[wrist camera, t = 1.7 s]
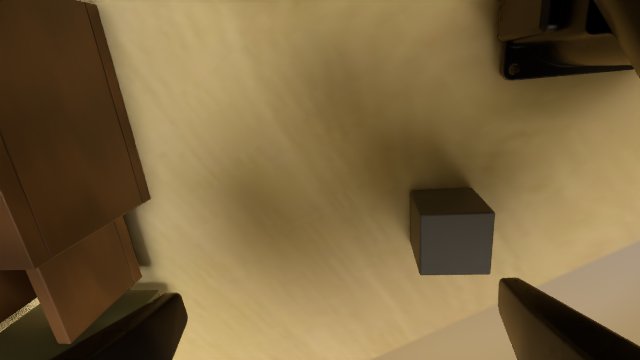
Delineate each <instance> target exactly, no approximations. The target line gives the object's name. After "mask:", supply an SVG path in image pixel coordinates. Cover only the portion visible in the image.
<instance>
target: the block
mask: <svg viewBox="0 0 640 360" xmlns="http://www.w3.org/2000/svg"><path fill="white" fill-rule="evenodd" d="M494 219H495V212H494V211H493V210H492V209H491V208H490V207H489V206H488V205H487V204H486V203H485V201H484V200H483V199H482V198H481V197H480V196H479V195H478V194H477V193H476V192H475V191H474V190H473V189H472V188H455V189H434V190H413V191H410V242H411V246H412V249H413V253H414V256H415V259H416V263H417V266H418V270H419V273H420V275H473V274H490V269H491V256H492V244H493V231H494Z"/></svg>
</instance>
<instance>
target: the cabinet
mask: <svg viewBox="0 0 640 360" xmlns="http://www.w3.org/2000/svg"><path fill="white" fill-rule="evenodd" d="M149 199H150V196H149V193H148V189H147V185H146V182H145V178H144V175H143V171H142V168H141V164H140V160H139V157H138V153H137V150H136V146H135V143H134V139H133V135H132V132H131V128H130V125H129V121H128V118H127V114H126V111H125V107H124V103H123V100H122V96H121V93H120V89H119V86H118V82H117V78H116V75H115V71H114V68H113V64H112V61H111V57H110V53H109V50H108V46H107V43H106V39H105V36H104V32H103V28H102V25H101V21H100V18H99V14H98V11H97V7H96V5H94V4H90V3H86V2H81V1H77V0H0V270H34V269H36V268H38V267H40V266H41V265H43V264H45V263H46V262H48V261H50V260H51V259H52V258H54V257H56V256H57V255H59V254H60V253H62V252H64V251H65V250H67V249H69V248H70V247H72V246H74V245H75V244H77V243H78V242H80V241H82V240H83V239H85V238H87V237H88V236H90V235H92V234H93V233H95V232H97V231H98V230H100V229H101V228H103V227H105V226H106V225H108V224H110V223H111V222H113V221H115V220H116V219H118V218H119V217H121V216H123V215H124V214H126V213H128V212H129V211H131V210H133V209H134V208H136V207H137V206H139V205H141V204H142V203H144V202H146V201H148V200H149Z"/></svg>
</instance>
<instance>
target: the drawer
mask: <svg viewBox="0 0 640 360" xmlns="http://www.w3.org/2000/svg"><path fill="white" fill-rule="evenodd" d="M141 277H142V275H141V272H140V269H139V266H138V262H137V259H136V256H135V253H134V250H133V247H132V243H131V240H130V237H129V234H128V231H127V227H126V224H125V221H124V218H123V216H121V217H119V218H118V219H116V220H115V221H113V222H111V223H110V224H108V225H106V226H105V227H103V228H101V229H100V230H98V231H97V232H95V233H93V234H92V235H90V236H88V237H87V238H85V239H83V240H82V241H80V242H78V243H77V244H75V245H74V246H72V247H70V248H69V249H67V250H65V251H64V252H62V253H60V254H59V255H57V256H56V257H54V258H52V259H51V260H50V261H48V262H46V263H45V264H43V265H41V266H40V267H38V268H36V269H34V270H0V323H1V322H2V321H4V320H5V319H7V318H8V317H10V316H11V315H12V314H14V313H15V312H17V311H18V310H20V309H21V308H22V307H24V306H25V305H27V304H28V303H30V302H31V301H32V300H34V299H35V298H37V297H38V300H39V302H40V304H39V305H37V306H36V307H35V308H33V309H32V310H31V311H29V312H28V313H26V314H25V315H24V316H22V317H21V318H20V319H18V320H17V321H15V322H14V323H13V324H11V325H10V326H9V327H7V328H6V329H4V330H3V331H2V332H0V360H49V359H51V358H53V357H55V356H56V355H58V354H60V353H62V352H63V351H65V350H67V349H69V348H70V347H72V346H74V345H76V344H77V343H79V342H81V341H83V340H84V339H86V338H88V337H90V336H91V335H93V334H95V333H97V332H98V331H100V330H102V329H104V328H105V327H107V326H109V325H111V324H112V323H114V322H116V321H118V320H119V319H121V318H123V317H125V316H126V315H128V314H130V313H132V312H133V311H135V310H137V309H139V308H140V307H142V306H144V305H145V304H147V303H149V302H151V301H152V300H154V299H156V298H158V297H159V296H160V293H159V290H128V289H129V288H130V287H131V286H132V285H133V284H135V283H136V282H137V281H138V280H139V279H140V278H141Z"/></svg>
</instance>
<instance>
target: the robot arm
mask: <svg viewBox="0 0 640 360" xmlns="http://www.w3.org/2000/svg"><path fill="white" fill-rule="evenodd" d="M497 37H498V38H499V39H500V40H501V41H502V53H501V67H500V73H501V76H502V77H503V78H504V79H506V80H523V79H534V78H545V77H555V76H566V75H577V74H588V73H599V72H610V71H621V70H632V69H634V70H635V71H636V73H637V75H638V76H639V78H640V0H500V6H499V20H498V35H497ZM512 65H515V66H516V72H515V73H514V74H512V75H511V74H510V73H509V68H510V67H511V66H512ZM498 307H499V313H500V316H501V318H502V321H503V323H504V326H505V329H506V331H507V334H508V336H509V339H510V342H511V344H512V347H513V349H514V352H515V354H516V357H517V360H640V346H638V345H636V344H635V343H633V342H631V341H629V340H628V339H626V338H624V337H622V336H620V335H619V334H617V333H615V332H613V331H612V330H610V329H608V328H606V327H605V326H603V325H601V324H599V323H597V322H596V321H594V320H592V319H590V318H589V317H587V316H585V315H583V314H581V313H579V312H578V311H576V310H574V309H573V308H571V307H569V306H567V305H565V304H564V303H562V302H560V301H558V300H557V299H555V298H553V297H551V296H549V295H548V294H546V293H544V292H542V291H540V290H539V289H537V288H535V287H533V286H532V285H530V284H528V283H526V282H525V281H523V280H521V279H519V278H502V279H500V281H499V294H498ZM187 319H188V316H187V312H186V309H185V306H184V303H183V300H182V297H181V295H180V294H179V293H165V294H163V295H161V296H159V297H158V298H156V299H154V300H152V301H151V302H149V303H147V304H145V305H144V306H142V307H140V308H139V309H137V310H135V311H133V312H132V313H130V314H128V315H126V316H125V317H123V318H121V319H119V320H118V321H116V322H114V323H112V324H111V325H109V326H107V327H105V328H104V329H102V330H100V331H98V332H97V333H95V334H93V335H91V336H90V337H88V338H86V339H84V340H83V341H81V342H79V343H77V344H76V345H74V346H72V347H70V348H69V349H67V350H65V351H63V352H62V353H60V354H58V355H56V356H55V357H53V358H51V359H49V360H172V359H173V356H174V354H175V351H176V349H177V346H178V344H179V341H180V339H181V336H182V334H183V331H184V329H185V326H186V324H187Z"/></svg>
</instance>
